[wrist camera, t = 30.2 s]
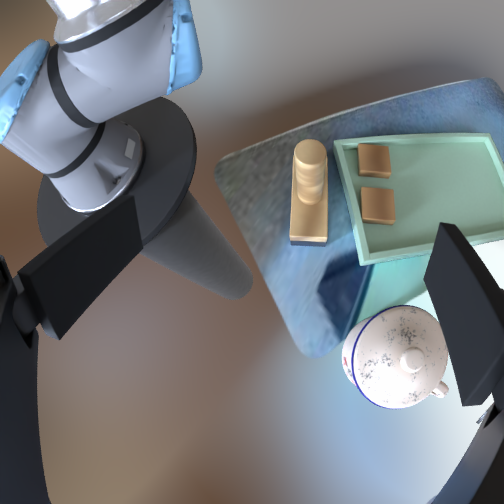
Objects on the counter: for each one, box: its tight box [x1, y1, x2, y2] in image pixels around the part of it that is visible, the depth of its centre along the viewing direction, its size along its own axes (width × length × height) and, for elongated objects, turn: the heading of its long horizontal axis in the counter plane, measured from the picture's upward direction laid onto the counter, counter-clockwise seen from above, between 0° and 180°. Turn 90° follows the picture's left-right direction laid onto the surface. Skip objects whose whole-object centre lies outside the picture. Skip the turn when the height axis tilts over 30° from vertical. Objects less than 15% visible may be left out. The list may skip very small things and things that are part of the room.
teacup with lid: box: [342, 305, 448, 409], centre depth 25 cm, size 12×9×12 cm
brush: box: [290, 139, 328, 247], centre depth 31 cm, size 4×10×12 cm, turn 175°
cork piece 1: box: [357, 144, 392, 179], centre depth 35 cm, size 4×4×2 cm
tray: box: [333, 133, 504, 266], centre depth 33 cm, size 26×16×2 cm, turn 97°
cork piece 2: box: [360, 187, 396, 225], centre depth 34 cm, size 4×4×2 cm
